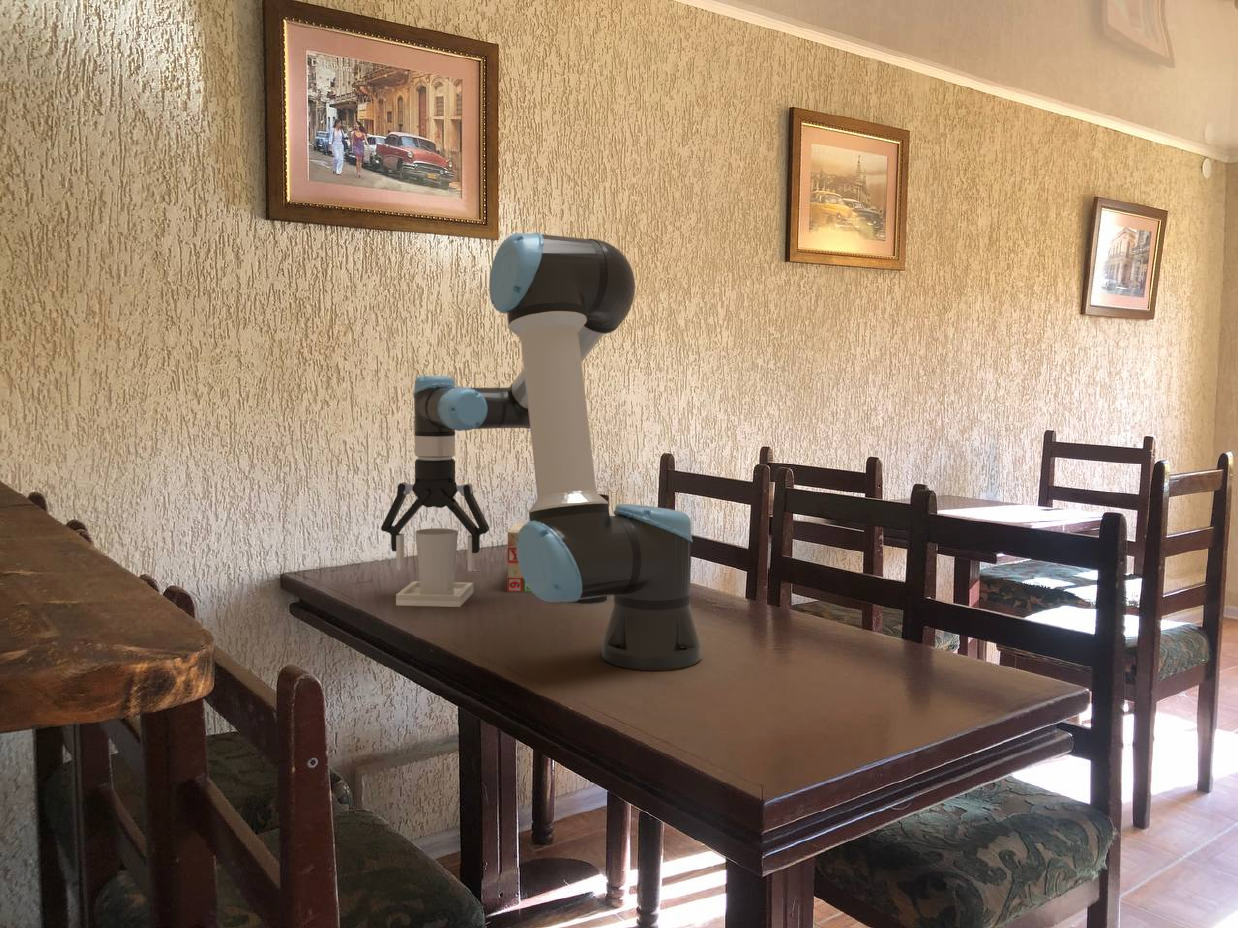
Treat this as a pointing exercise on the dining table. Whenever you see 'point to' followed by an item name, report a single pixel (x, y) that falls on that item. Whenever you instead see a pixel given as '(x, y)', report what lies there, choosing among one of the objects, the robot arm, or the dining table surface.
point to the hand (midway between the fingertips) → (435, 569)
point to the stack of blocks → (515, 562)
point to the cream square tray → (434, 596)
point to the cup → (436, 560)
